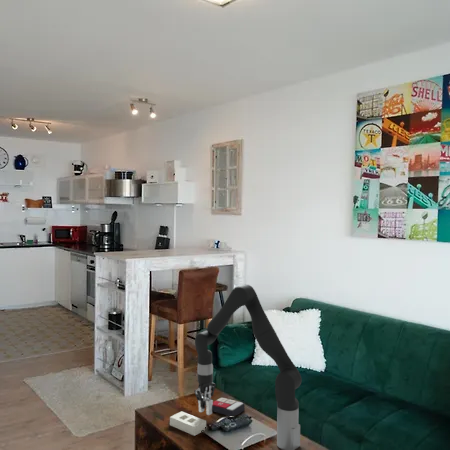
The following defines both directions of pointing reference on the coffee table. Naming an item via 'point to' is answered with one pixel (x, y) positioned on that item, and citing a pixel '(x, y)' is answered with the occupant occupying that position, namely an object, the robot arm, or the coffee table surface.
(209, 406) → the clip
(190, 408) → the coffee table surface
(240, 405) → the dark red white box
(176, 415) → the cream white box
